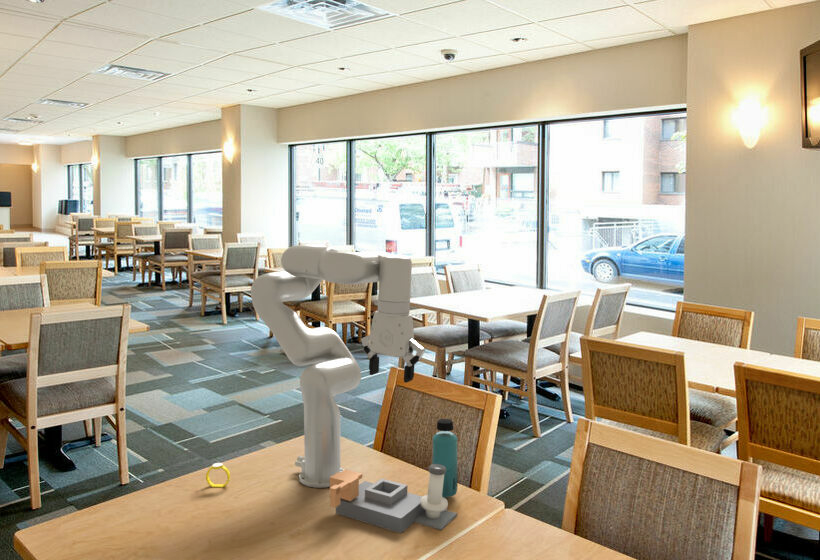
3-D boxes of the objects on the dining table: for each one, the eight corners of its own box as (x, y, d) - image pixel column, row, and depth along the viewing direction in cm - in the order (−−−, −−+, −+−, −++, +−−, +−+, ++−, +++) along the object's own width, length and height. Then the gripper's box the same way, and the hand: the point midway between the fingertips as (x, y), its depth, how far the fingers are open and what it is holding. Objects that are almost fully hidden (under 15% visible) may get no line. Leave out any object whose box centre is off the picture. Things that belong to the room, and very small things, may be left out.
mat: (410, 521, 148) (410, 518, 148) (427, 507, 155) (427, 505, 155) (441, 530, 144) (441, 527, 144) (456, 515, 151) (456, 513, 151)
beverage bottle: (455, 504, 156) (457, 425, 154) (429, 501, 158) (430, 423, 155) (459, 493, 163) (460, 417, 160) (433, 490, 164) (434, 415, 162)
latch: (315, 504, 147) (315, 483, 147) (343, 486, 157) (343, 466, 156) (336, 510, 144) (336, 489, 144) (363, 492, 154) (364, 472, 153)
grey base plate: (336, 513, 151) (336, 491, 151) (364, 494, 161) (364, 473, 161) (400, 533, 142) (401, 509, 142) (426, 511, 152) (427, 489, 152)
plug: (414, 515, 148) (418, 468, 146) (427, 505, 154) (431, 459, 152) (438, 525, 145) (443, 476, 143) (451, 514, 150) (455, 467, 149)
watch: (205, 489, 164) (203, 467, 163) (209, 485, 167) (207, 463, 166) (228, 488, 164) (226, 466, 163) (232, 483, 167) (229, 461, 166)
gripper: (354, 304, 152) (352, 374, 154) (417, 314, 143) (414, 388, 145) (372, 300, 158) (369, 367, 160) (433, 309, 149) (430, 380, 152)
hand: (390, 377), depth 153 cm, fingers open, 9 cm apart
